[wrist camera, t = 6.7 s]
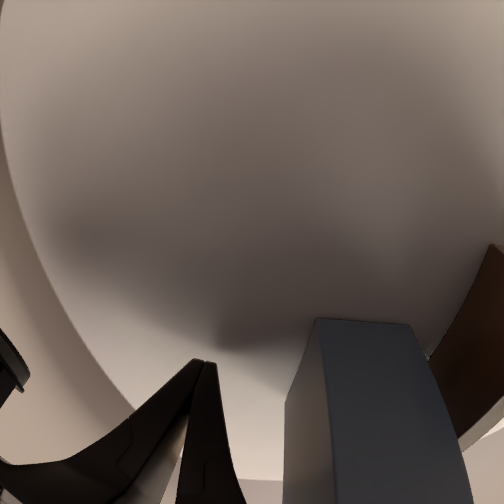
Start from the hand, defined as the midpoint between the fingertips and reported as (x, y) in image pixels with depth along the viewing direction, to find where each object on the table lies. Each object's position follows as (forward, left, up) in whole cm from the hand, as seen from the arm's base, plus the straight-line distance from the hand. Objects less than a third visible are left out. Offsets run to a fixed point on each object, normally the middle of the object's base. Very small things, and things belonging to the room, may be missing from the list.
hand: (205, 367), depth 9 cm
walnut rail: (+10, 0, -1) cm, 10 cm away
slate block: (+5, 0, +3) cm, 6 cm away
